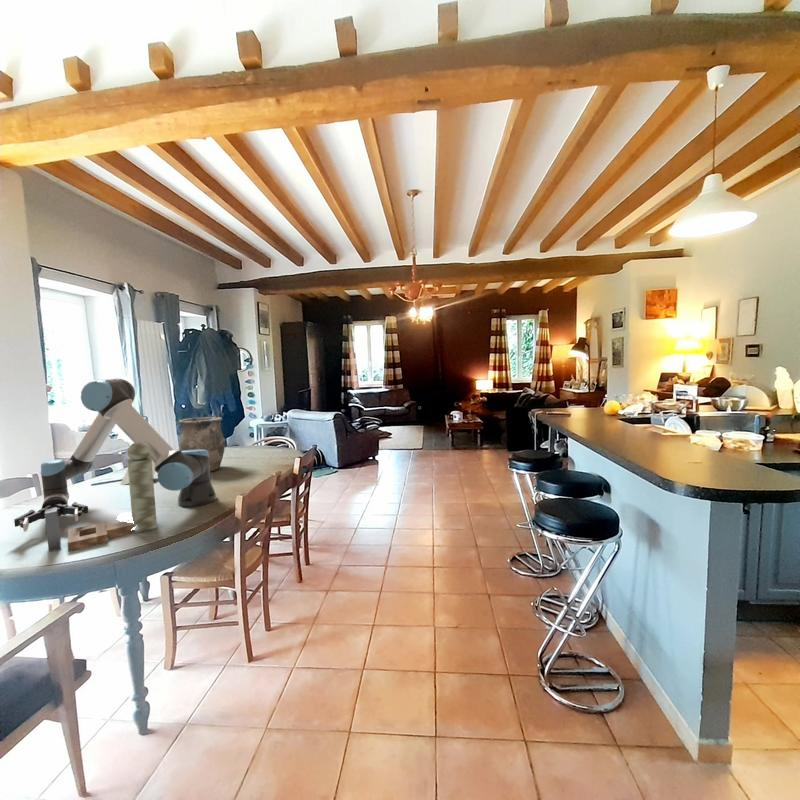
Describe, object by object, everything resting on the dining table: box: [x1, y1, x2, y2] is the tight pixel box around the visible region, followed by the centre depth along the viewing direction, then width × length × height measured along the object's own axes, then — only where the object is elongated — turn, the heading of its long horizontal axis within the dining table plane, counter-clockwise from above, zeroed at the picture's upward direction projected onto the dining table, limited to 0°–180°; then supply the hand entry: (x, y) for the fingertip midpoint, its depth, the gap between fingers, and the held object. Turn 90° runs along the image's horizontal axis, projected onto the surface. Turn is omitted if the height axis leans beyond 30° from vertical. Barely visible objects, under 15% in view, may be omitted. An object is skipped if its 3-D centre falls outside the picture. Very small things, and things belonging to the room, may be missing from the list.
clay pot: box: [178, 416, 226, 473], centre depth 234 cm, size 22×23×30 cm
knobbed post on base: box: [67, 442, 158, 553], centre depth 147 cm, size 26×14×32 cm, turn 128°
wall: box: [119, 462, 157, 486], centre depth 218 cm, size 16×9×15 cm
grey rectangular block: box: [44, 508, 62, 552], centre depth 138 cm, size 3×5×13 cm, turn 38°
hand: (51, 522), depth 142 cm, fingers open, 13 cm apart
